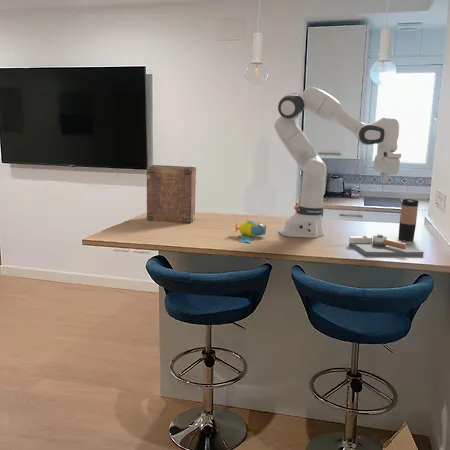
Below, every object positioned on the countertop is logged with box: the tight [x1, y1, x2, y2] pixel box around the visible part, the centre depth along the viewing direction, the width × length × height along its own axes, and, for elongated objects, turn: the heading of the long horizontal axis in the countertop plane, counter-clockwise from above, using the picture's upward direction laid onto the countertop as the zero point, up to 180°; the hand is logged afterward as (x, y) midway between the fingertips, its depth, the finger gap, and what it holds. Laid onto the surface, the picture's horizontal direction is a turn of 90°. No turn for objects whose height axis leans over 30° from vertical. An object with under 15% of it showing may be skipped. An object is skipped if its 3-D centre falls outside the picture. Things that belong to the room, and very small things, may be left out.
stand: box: [348, 235, 424, 258], centre depth 216 cm, size 27×20×5 cm
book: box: [146, 164, 197, 224], centre depth 263 cm, size 25×9×30 cm, turn 79°
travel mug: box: [397, 198, 419, 243], centre depth 236 cm, size 8×8×20 cm
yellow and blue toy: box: [234, 219, 267, 245], centre depth 234 cm, size 28×9×15 cm
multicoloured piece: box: [372, 234, 408, 250], centre depth 213 cm, size 16×6×4 cm, turn 37°
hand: (383, 182), depth 227 cm, fingers closed
